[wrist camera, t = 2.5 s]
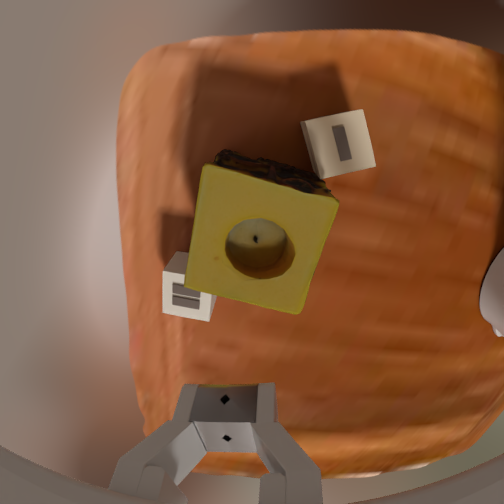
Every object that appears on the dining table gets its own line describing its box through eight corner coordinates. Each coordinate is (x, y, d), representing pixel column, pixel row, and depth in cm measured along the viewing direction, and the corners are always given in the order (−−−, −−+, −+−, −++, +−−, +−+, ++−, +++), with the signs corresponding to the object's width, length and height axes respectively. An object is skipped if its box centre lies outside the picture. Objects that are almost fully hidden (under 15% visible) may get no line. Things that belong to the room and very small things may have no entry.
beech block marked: (348, 111, 27) (363, 109, 22) (360, 159, 28) (376, 166, 24) (299, 122, 28) (305, 121, 23) (313, 170, 29) (321, 179, 25)
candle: (222, 147, 29) (199, 158, 20) (322, 173, 29) (344, 196, 20) (202, 241, 33) (177, 287, 24) (293, 264, 33) (300, 317, 24)
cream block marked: (221, 257, 34) (212, 280, 29) (216, 296, 36) (208, 322, 31) (176, 250, 34) (162, 271, 29) (175, 289, 36) (162, 313, 31)
